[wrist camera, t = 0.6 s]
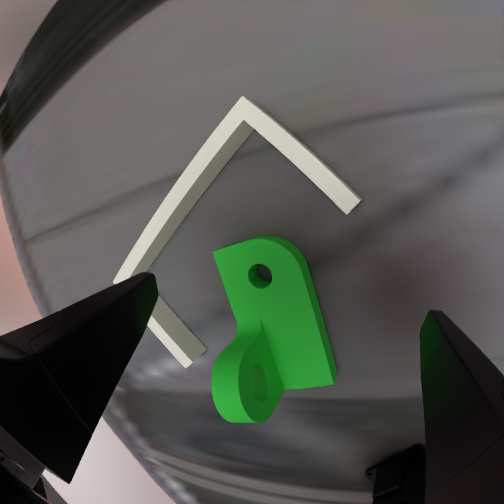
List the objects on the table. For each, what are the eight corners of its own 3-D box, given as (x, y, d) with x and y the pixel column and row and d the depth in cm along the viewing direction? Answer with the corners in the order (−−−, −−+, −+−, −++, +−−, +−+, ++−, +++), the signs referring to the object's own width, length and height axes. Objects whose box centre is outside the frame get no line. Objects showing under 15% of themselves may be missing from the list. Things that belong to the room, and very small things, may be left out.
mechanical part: (337, 370, 23) (316, 438, 16) (270, 379, 26) (230, 438, 19) (295, 224, 22) (254, 244, 15) (224, 246, 25) (162, 272, 18)
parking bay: (361, 199, 20) (360, 200, 18) (200, 355, 28) (185, 368, 26) (256, 104, 21) (242, 95, 19) (130, 275, 29) (112, 281, 27)
